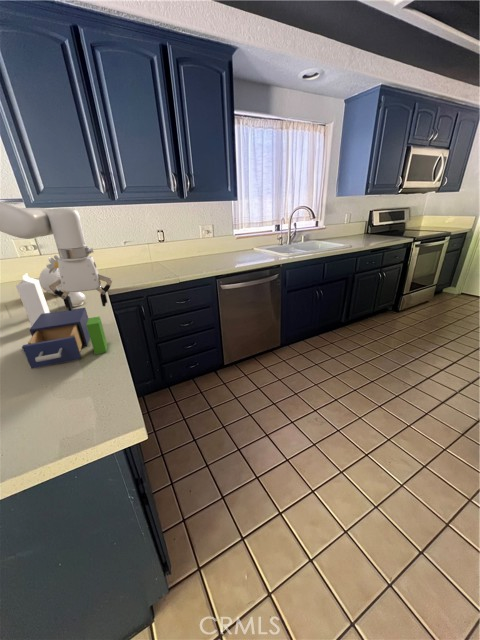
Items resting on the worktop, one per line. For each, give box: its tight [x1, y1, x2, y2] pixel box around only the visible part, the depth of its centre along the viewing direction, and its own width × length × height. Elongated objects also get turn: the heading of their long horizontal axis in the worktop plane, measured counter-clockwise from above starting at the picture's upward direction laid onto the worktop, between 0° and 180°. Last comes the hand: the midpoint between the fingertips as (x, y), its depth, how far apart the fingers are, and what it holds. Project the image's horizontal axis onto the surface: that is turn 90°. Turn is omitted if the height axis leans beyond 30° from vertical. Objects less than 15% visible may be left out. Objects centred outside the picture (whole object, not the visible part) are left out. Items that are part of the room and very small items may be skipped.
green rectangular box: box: [87, 316, 108, 355], centre depth 89 cm, size 4×6×11 cm, turn 22°
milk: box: [15, 272, 51, 327], centre depth 106 cm, size 6×6×22 cm
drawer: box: [21, 324, 83, 370], centre depth 84 cm, size 18×13×8 cm
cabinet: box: [29, 307, 90, 348], centre depth 96 cm, size 15×15×10 cm
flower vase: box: [46, 254, 87, 308], centre depth 129 cm, size 13×18×25 cm
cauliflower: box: [38, 267, 64, 296], centre depth 151 cm, size 20×18×16 cm
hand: (88, 307), depth 85 cm, fingers open, 9 cm apart
